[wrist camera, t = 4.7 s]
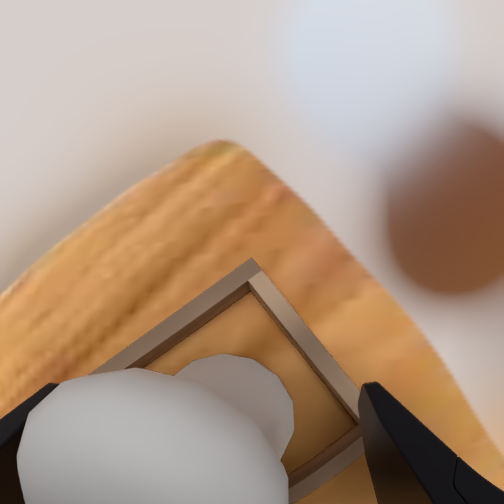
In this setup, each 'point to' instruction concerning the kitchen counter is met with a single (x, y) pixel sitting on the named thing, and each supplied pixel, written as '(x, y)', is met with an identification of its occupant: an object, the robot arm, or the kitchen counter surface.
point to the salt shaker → (161, 437)
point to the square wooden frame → (297, 333)
